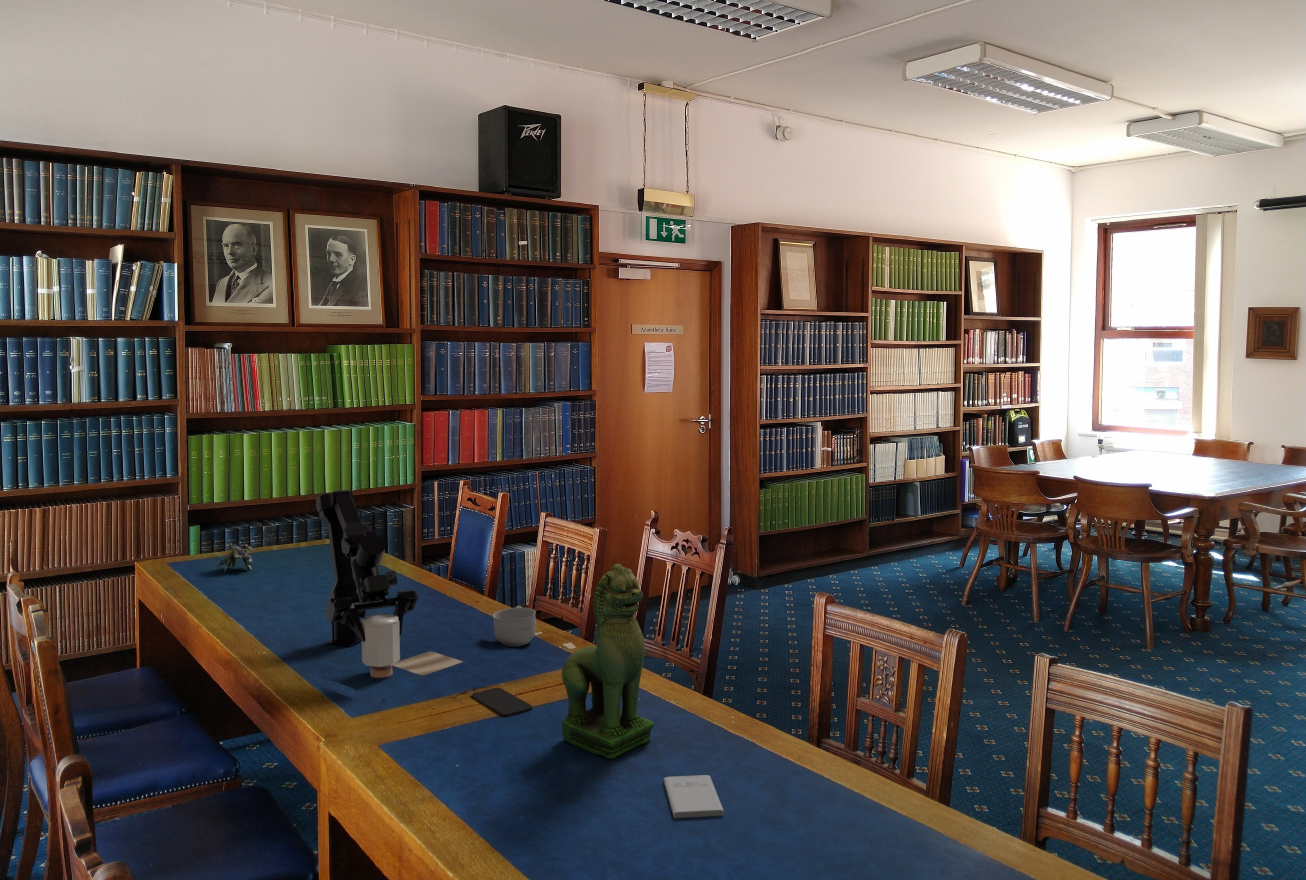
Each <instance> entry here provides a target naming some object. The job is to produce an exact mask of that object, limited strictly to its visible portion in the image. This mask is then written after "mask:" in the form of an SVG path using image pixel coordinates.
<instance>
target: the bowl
mask: <svg viewBox="0 0 1306 880" xmlns="http://www.w3.org/2000/svg"><path fill="white" fill-rule="evenodd" d="M369 669H370V670H369V672H370V674H369V675H370V677H371V678H375V679H383V678H388V677H390V676H392V675H393V666H392V665H387V666H381V667H375V666H370V668H369Z"/></svg>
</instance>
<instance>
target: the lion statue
mask: <svg viewBox="0 0 1306 880" xmlns="http://www.w3.org/2000/svg"><path fill="white" fill-rule="evenodd" d="M593 592H594V595H593V598H592V600H593V601H592V605H593V615H594V619H595V624H596V625H595V626H596V645H595V646H594V645H590V646H584V647H581V648H578V649H577V650H575V651H574V652H572V653H571V654H570V655H569V656H568V657H567V658H566V660H565V661H564V664H563V666H562V669H561V680H562V683H563V685H564V687H565V692H566V695H567V700H568V701H567V702H568V708H567V709H568V710H567V716H566V717H565V718H563V720H562V721H561V730H562V731H561V732H562V733H561V734H562V738H563V740H564V741H565V742H567V743H569V744H570V745H572V746H575V747H577V748H579V749H581V750H583V751H585V752H589V753H590V754H593V755H596V756H601V757H604V758H606V759H608V760H614V759H615V758H618V757H620V756H621V755H623V754H625V753H628V752H629V751H630V750H632V749H635V748H637V747H641V746H642V745H644V744H645V745H646V744H647V743H648V742H650V740H651V737H652V736H651V730H652V729H653V728H654V727H655V723H654V722H653V721H652V720H650V719H649V718H646V717H642V716H640V715H639V714H638V698H639V689H640V682H641V676H642V671H643V667H644V666H643V665H644V661H645V656H646V644H645V638H644V635H643V632H642V629H641V628H640V624H639V622H638V620H637V618H636V616H635V614H636V613H637V612H638V611H639V603H640V602H642V600H643V598H644V597H643V596H644V593H643V591H642V590H641V588H639V581H638V579H637V578H636V576H635V575H634V573H633V571H632V569H630V568H628V567H624V566H623V565H622V564H620V563H615V564H613V565H612V567H611V568H610V570H609V571H607V572H605V574H603V575H602V576H601V578H600V580H599V581H598V582H597V584H596V587H595V588H594V591H593ZM590 689H591V691H590V692H591V707H590V709H588V710H587V707H586V704H587V703H586V702H587V697H588V693H589V690H590ZM621 706H622V707H621Z"/></svg>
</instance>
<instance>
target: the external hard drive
mask: <svg viewBox="0 0 1306 880" xmlns="http://www.w3.org/2000/svg"><path fill="white" fill-rule="evenodd" d="M663 783H664V788H665V792H666V791H667V792H666V795H667V798H668V802H669V805H670V808H671V812H672V815H673V818H674V819H684V818H685V819H686V818H701V817H721V816H725V815H724V814H725V813H724V812H725V810H724V808H723V806H722V803H721V800H720V798H719V796H718V794H717V793H718V792H717V791H716V787H715V786H714V782H713V780H712V778H711V776H710V775H708V774H703V775H701V774H700V775H680V776H666V777H664V778H663Z"/></svg>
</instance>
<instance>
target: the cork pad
mask: <svg viewBox="0 0 1306 880" xmlns="http://www.w3.org/2000/svg"><path fill="white" fill-rule="evenodd" d="M461 663H464V661H463V660H459V659H457V658H453V657H451V656H447V655H444V654H441V653H438V652H434V651H433V650H429V651H427V652H423V653H420V654H418V655H414V656H410V657H408V658H405V659H400V660H399V661H397V662H396V663H394V664H393V665H392V667H395V668H398V669H402V670H404V671H408V672H410V673H413V674H415V675H416V674H417V675H419V676H422V677H424V676H426V675H429V674H430V675H431V674H432V673H435V672H438V671H441V670H443V669H446V668H449V667H452V666H455V665H458V664H459V665H460V664H461Z"/></svg>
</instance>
